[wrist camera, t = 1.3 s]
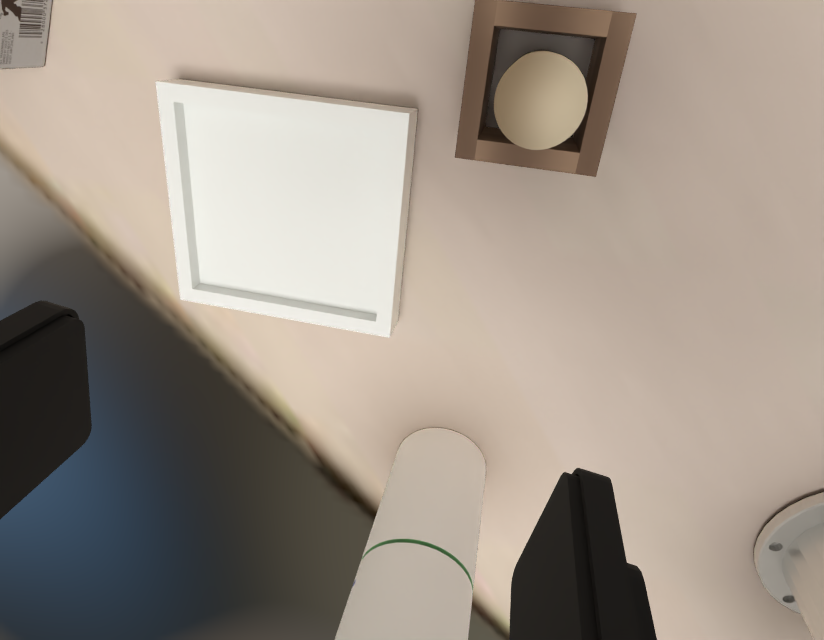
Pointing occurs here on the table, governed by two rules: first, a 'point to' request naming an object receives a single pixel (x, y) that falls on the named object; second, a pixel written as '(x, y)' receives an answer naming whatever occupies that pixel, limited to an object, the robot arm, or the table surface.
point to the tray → (288, 202)
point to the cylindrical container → (421, 544)
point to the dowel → (540, 100)
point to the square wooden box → (601, 82)
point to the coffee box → (23, 33)
